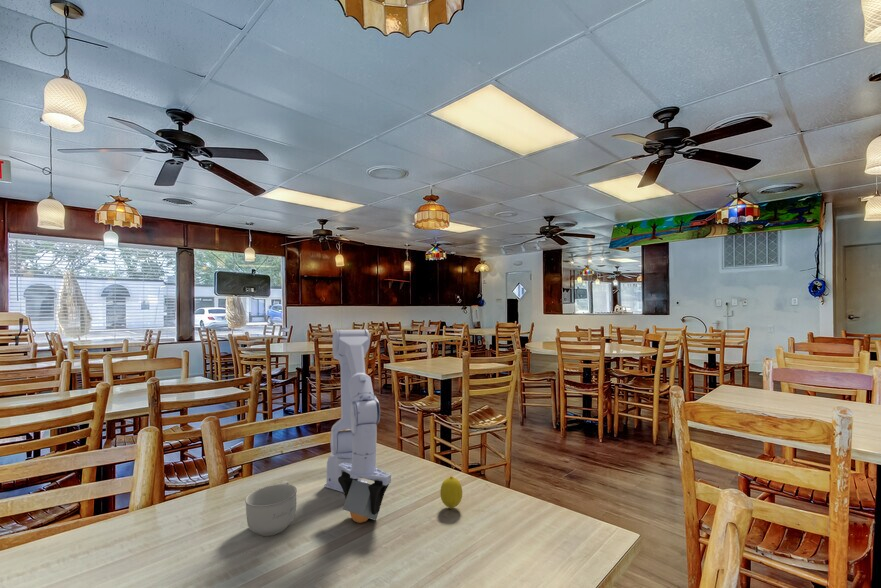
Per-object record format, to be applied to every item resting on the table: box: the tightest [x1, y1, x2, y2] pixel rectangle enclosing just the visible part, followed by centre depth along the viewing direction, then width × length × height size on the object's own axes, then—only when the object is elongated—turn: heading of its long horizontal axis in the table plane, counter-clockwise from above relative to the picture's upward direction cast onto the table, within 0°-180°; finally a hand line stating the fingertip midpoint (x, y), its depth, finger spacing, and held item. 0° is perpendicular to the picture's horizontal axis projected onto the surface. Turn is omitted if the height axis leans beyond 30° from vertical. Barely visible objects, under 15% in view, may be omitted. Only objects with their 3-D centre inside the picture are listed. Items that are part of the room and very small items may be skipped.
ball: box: [349, 512, 370, 524], centre depth 95 cm, size 5×5×5 cm
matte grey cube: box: [342, 480, 384, 521], centre depth 97 cm, size 6×6×7 cm
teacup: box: [244, 480, 298, 537], centre depth 94 cm, size 14×11×8 cm
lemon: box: [439, 475, 463, 510], centre depth 102 cm, size 6×6×8 cm
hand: (363, 508), depth 96 cm, fingers open, 7 cm apart
